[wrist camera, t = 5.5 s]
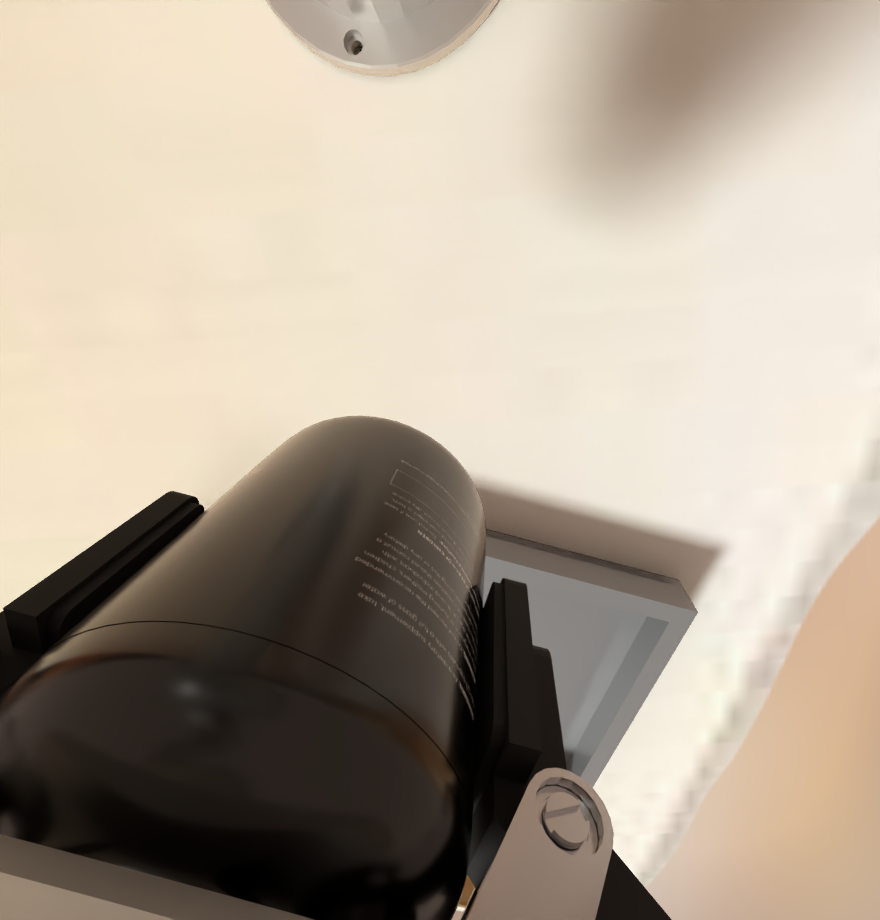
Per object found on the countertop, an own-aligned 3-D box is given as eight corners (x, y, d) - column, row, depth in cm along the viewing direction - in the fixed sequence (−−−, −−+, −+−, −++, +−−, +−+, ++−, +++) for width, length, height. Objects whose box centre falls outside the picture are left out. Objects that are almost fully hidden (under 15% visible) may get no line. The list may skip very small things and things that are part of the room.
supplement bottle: (241, 413, 13) (-1187, 1273, 2) (482, 404, 12) (343, 1925, 1) (290, 603, 16) (-189, 1405, 5) (489, 607, 15) (472, 1614, 4)
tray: (380, 501, 30) (368, 524, 27) (678, 580, 29) (697, 612, 26) (338, 706, 37) (326, 741, 35) (572, 770, 37) (578, 810, 34)
